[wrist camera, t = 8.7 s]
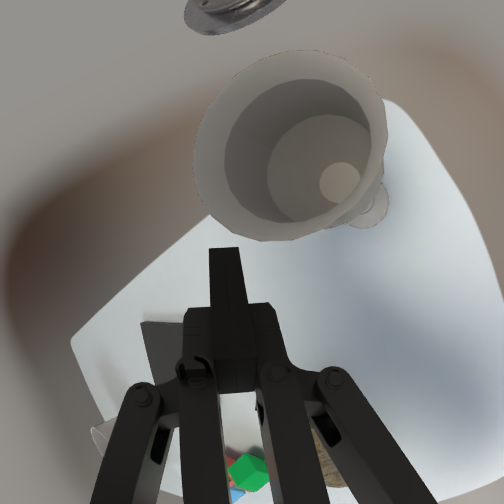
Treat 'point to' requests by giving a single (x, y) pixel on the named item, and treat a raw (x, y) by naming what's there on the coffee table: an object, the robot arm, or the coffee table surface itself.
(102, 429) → the planter
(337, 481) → the fossilized seashell
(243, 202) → the chalice
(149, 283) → the coffee table surface
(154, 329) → the scale
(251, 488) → the building blocks
